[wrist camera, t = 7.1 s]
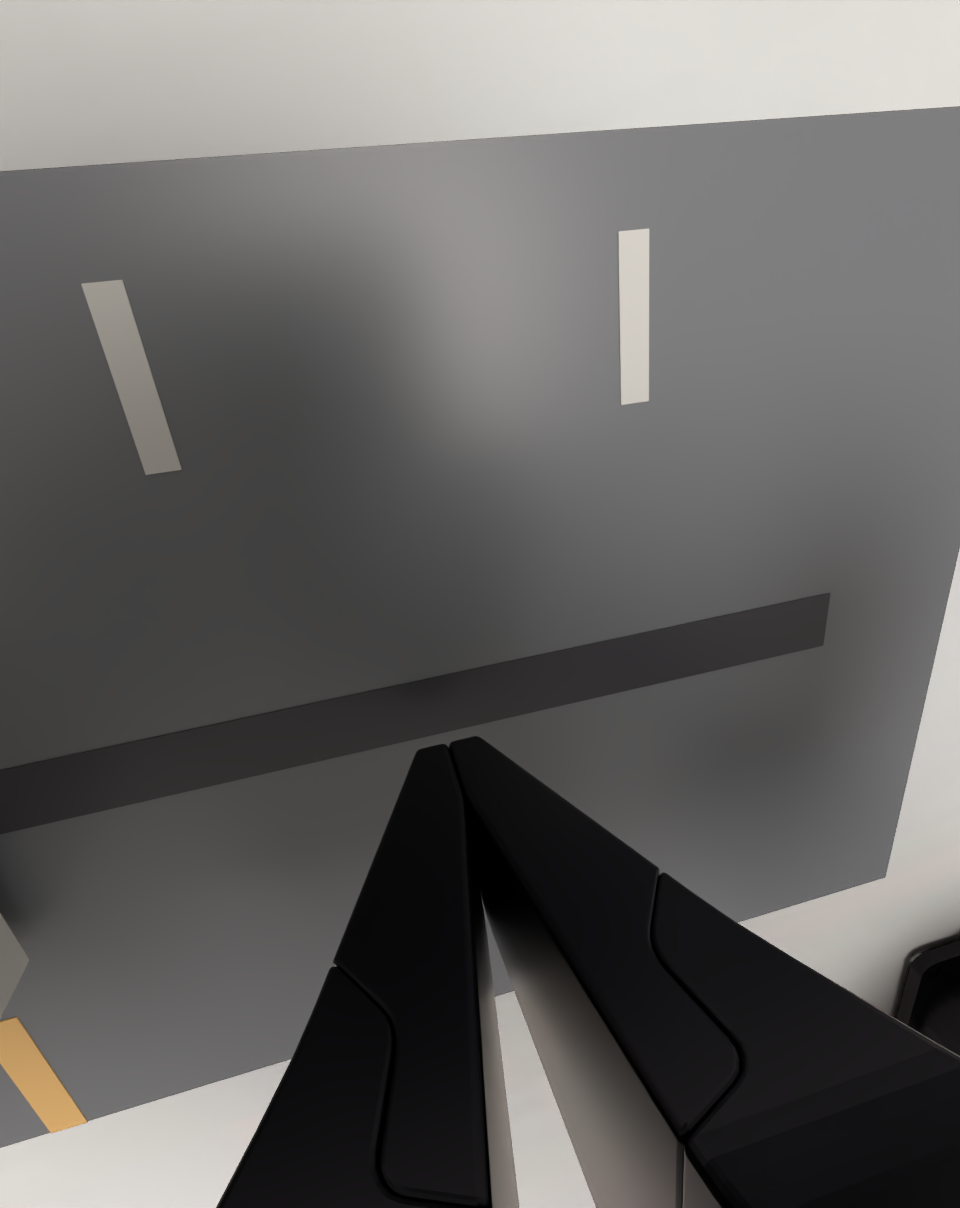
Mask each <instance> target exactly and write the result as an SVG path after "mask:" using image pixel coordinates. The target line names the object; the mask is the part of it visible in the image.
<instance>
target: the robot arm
mask: <svg viewBox="0 0 960 1208" xmlns="http://www.w3.org/2000/svg"><path fill="white" fill-rule="evenodd" d="M482 901H483V903H482ZM483 905H484V909H485V912H486V915H487V918H488V921H489V924H490V927H491V930H492V933H493V935H494V938H495V941H496V943H497V946H498V949H499V951H500V954H501V957H502V959H503V962H504V964H505V967H506V970H507V972H508V975H509V978H510V980H511V983H512V986H513V988H514V991H515V994H516V996H517V999H518V1002H519V1004H520V1007H521V1009H522V1012H523V1015H524V1017H525V1020H526V1023H527V1025H528V1028H529V1031H530V1033H531V1036H532V1039H533V1041H534V1044H535V1047H536V1049H537V1052H538V1055H539V1057H540V1060H541V1062H542V1065H543V1068H544V1070H545V1073H546V1076H547V1078H548V1081H549V1084H550V1086H551V1089H552V1092H553V1094H554V1097H555V1100H556V1102H557V1105H558V1107H559V1110H560V1113H561V1115H562V1118H563V1121H564V1123H565V1126H566V1129H567V1131H568V1134H569V1137H570V1139H571V1142H572V1145H573V1147H574V1150H575V1153H576V1155H577V1158H578V1160H579V1163H580V1166H581V1168H582V1171H583V1174H584V1176H585V1179H586V1182H587V1184H588V1187H589V1190H590V1192H591V1195H592V1198H593V1200H594V1203H595V1205H596V1208H960V940H959V941H956V942H953V943H950V944H947V945H944V946H941V947H938V948H935V949H932V950H929V951H926V952H924V953H922V954H920V955H919V956H918V957H916V959H915V960H914V961H913V962H912V964H911V967H910V970H909V974H908V978H907V981H906V985H905V989H904V992H903V996H902V1000H901V1003H900V1007H899V1011H898V1014H897V1018H896V1019H895V1018H894V1017H892V1016H890V1015H889V1014H887V1013H885V1012H884V1011H882V1010H880V1009H879V1008H877V1007H875V1006H874V1005H872V1004H870V1003H869V1002H867V1001H865V1000H863V999H862V998H860V997H858V996H857V995H855V994H853V993H852V992H850V991H848V990H847V989H845V988H843V987H842V986H840V985H838V984H836V983H835V982H833V981H831V980H830V979H828V978H826V977H825V976H823V975H821V974H820V973H818V972H816V971H815V970H813V969H811V968H809V967H808V966H806V965H804V964H803V963H801V962H799V961H798V960H796V959H794V958H793V957H791V956H789V955H788V954H786V953H785V952H783V951H781V950H780V949H778V948H777V947H775V946H773V945H772V944H770V943H769V942H767V941H765V940H764V939H762V938H761V937H759V936H757V935H756V934H754V933H752V932H751V931H749V930H748V929H746V928H744V927H743V926H741V925H740V924H738V923H736V922H735V921H734V920H732V919H731V918H729V917H728V916H726V915H725V914H723V913H722V912H721V911H719V910H718V909H716V908H715V907H713V906H712V905H710V904H709V903H708V902H706V901H705V900H703V899H702V898H700V897H699V896H697V895H696V894H695V893H693V892H692V891H690V890H689V889H688V888H686V887H685V886H683V885H682V884H681V883H679V882H678V881H677V880H675V879H674V878H673V877H671V876H670V875H668V874H667V873H665V872H663V873H661V871H660V869H659V868H658V867H657V866H656V865H654V864H653V863H652V862H650V861H649V860H647V859H646V858H645V857H643V856H642V855H641V854H639V853H638V852H637V851H635V850H634V849H632V848H631V847H630V846H628V845H627V844H626V843H624V842H623V841H621V840H620V839H619V838H617V837H616V836H615V835H613V834H612V833H611V832H609V831H608V830H606V829H605V828H604V827H602V826H601V825H600V824H598V823H597V822H596V821H594V820H593V819H591V818H590V817H589V816H587V815H586V814H585V813H583V812H582V811H580V810H579V809H578V808H576V807H575V806H574V805H572V804H571V803H570V802H568V801H567V800H565V799H564V798H563V797H561V796H560V795H559V794H557V793H556V792H554V791H553V790H552V789H550V788H549V787H548V786H546V785H545V784H544V783H542V782H541V781H539V780H538V779H537V778H535V777H534V776H533V775H531V774H530V773H529V772H527V771H526V770H524V769H523V768H522V767H520V766H519V765H518V764H516V763H515V762H513V761H512V760H511V759H509V758H508V757H507V756H505V755H504V754H503V753H501V752H500V751H498V750H497V749H496V748H494V747H493V746H492V745H490V744H489V743H488V742H486V741H485V740H483V739H482V738H481V737H478V736H473V737H469V738H464V739H460V740H456V741H452V742H451V743H450V744H449V748H448V746H447V745H446V744H439V745H435V746H430V747H426V748H422V749H419V750H418V751H417V752H416V754H415V756H414V758H413V761H412V763H411V766H410V768H409V771H408V773H407V776H406V778H405V781H404V783H403V786H402V788H401V791H400V794H399V796H398V799H397V801H396V804H395V806H394V809H393V811H392V814H391V816H390V819H389V821H388V824H387V826H386V829H385V831H384V834H383V836H382V839H381V841H380V844H379V846H378V849H377V851H376V854H375V856H374V859H373V861H372V864H371V866H370V869H369V871H368V874H367V876H366V879H365V882H364V884H363V887H362V889H361V892H360V894H359V897H358V899H357V902H356V904H355V907H354V909H353V912H352V914H351V917H350V919H349V922H348V924H347V927H346V929H345V932H344V934H343V937H342V939H341V942H340V944H339V947H338V949H337V952H336V954H335V957H334V959H333V967H331V968H330V969H329V971H328V974H327V976H326V979H325V981H324V984H323V986H322V989H321V991H320V994H319V996H318V999H317V1001H316V1004H315V1006H314V1009H313V1011H312V1013H311V1016H310V1018H309V1020H308V1022H307V1025H306V1027H305V1029H304V1032H303V1034H302V1036H301V1039H300V1041H299V1043H298V1046H297V1048H296V1050H295V1052H294V1055H293V1057H292V1059H291V1062H290V1064H289V1066H288V1068H287V1070H286V1072H285V1074H284V1076H283V1078H282V1080H281V1082H280V1084H279V1086H278V1088H277V1090H276V1092H275V1094H274V1096H273V1098H272V1100H271V1102H270V1104H269V1106H268V1108H267V1110H266V1112H265V1114H264V1116H263V1118H262V1120H261V1122H260V1124H259V1126H258V1128H257V1130H256V1132H255V1134H254V1136H253V1138H252V1140H251V1142H250V1144H249V1146H248V1147H247V1149H246V1151H245V1153H244V1155H243V1157H242V1159H241V1161H240V1163H239V1165H238V1167H237V1169H236V1171H235V1172H234V1174H233V1176H232V1178H231V1180H230V1182H229V1184H228V1186H227V1188H226V1190H225V1192H224V1194H223V1195H222V1197H221V1199H220V1201H219V1203H218V1205H217V1207H216V1208H519V1200H518V1192H517V1183H516V1175H515V1166H514V1158H513V1149H512V1141H511V1132H510V1124H509V1115H508V1107H507V1098H506V1090H505V1081H504V1073H503V1064H502V1056H501V1047H500V1038H499V1030H498V1021H497V1013H496V1004H495V996H494V987H493V979H492V970H491V962H490V953H489V945H488V936H487V929H486V922H485V915H484V909H483Z"/></svg>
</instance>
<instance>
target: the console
mask: <svg viewBox="0 0 960 1208" xmlns="http://www.w3.org/2000/svg"><path fill="white" fill-rule="evenodd" d="M959 548H960V106H957V107H943V108H928V109H913V110H898V111H884V112H869V113H854V114H839V115H825V116H810V117H795V118H781V119H766V120H751V121H736V122H722V123H707V124H692V125H677V126H663V127H648V128H633V129H618V130H604V131H589V132H574V133H559V134H545V135H530V136H515V137H501V138H486V139H471V140H456V141H442V142H427V143H412V144H397V145H383V146H368V147H353V148H338V149H324V150H309V151H294V152H280V153H265V154H250V155H235V156H221V157H206V158H191V159H176V160H162V161H147V162H132V163H117V164H103V165H88V166H73V167H59V168H44V169H29V170H14V171H0V913H1V915H2V917H3V918H4V920H5V921H6V923H7V925H8V926H9V928H10V929H11V931H12V933H13V934H14V936H15V937H16V939H17V941H18V942H19V944H20V945H21V947H22V949H23V950H24V952H25V953H26V955H27V957H28V958H29V962H28V964H27V966H26V968H25V970H24V972H23V974H22V976H21V978H20V980H19V982H18V984H17V986H16V988H15V990H14V992H13V994H12V996H11V998H10V1000H9V1002H8V1004H7V1006H6V1008H5V1010H4V1012H3V1014H2V1016H1V1018H0V1148H1V1147H5V1146H8V1145H11V1144H14V1143H18V1142H21V1141H24V1140H27V1139H31V1138H34V1137H37V1136H41V1135H44V1134H47V1133H54V1132H57V1131H61V1130H64V1129H67V1128H71V1127H74V1126H77V1125H80V1124H84V1123H87V1122H88V1121H90V1120H93V1119H96V1118H99V1117H103V1116H106V1115H109V1114H113V1113H116V1112H119V1111H122V1110H126V1109H129V1108H132V1107H135V1106H139V1105H142V1104H145V1103H149V1102H152V1101H155V1100H158V1099H162V1098H165V1097H168V1096H171V1095H175V1094H178V1093H181V1092H185V1091H188V1090H191V1089H194V1088H198V1087H201V1086H204V1085H207V1084H211V1083H214V1082H217V1081H221V1080H224V1079H227V1078H230V1077H234V1076H237V1075H240V1074H243V1073H247V1072H250V1071H253V1070H256V1069H260V1068H263V1067H266V1066H270V1065H273V1064H276V1063H279V1062H283V1061H286V1060H289V1059H292V1057H293V1055H294V1052H295V1050H296V1048H297V1046H298V1043H299V1041H300V1039H301V1036H302V1034H303V1032H304V1029H305V1027H306V1025H307V1022H308V1020H309V1018H310V1016H311V1013H312V1011H313V1009H314V1006H315V1004H316V1001H317V999H318V996H319V994H320V991H321V989H322V986H323V984H324V981H325V979H326V976H327V974H328V971H329V969H330V968H331V967H333V959H334V957H335V954H336V952H337V949H338V947H339V944H340V942H341V939H342V937H343V934H344V932H345V929H346V927H347V924H348V922H349V919H350V917H351V914H352V912H353V909H354V907H355V904H356V902H357V899H358V897H359V894H360V892H361V889H362V887H363V884H364V882H365V879H366V876H367V874H368V871H369V869H370V866H371V864H372V861H373V859H374V856H375V854H376V851H377V849H378V846H379V844H380V841H381V839H382V836H383V834H384V831H385V829H386V826H387V824H388V821H389V819H390V816H391V814H392V811H393V809H394V806H395V804H396V801H397V799H398V796H399V794H400V791H401V788H402V786H403V783H404V781H405V778H406V776H407V773H408V771H409V768H410V766H411V763H412V761H413V758H414V756H415V754H416V752H417V751H418V750H419V749H422V748H426V747H430V746H435V745H439V744H446V745H447V746H448V748H449V744H450V743H451V742H452V741H456V740H460V739H464V738H469V737H473V736H478V737H481V738H482V739H483V740H485V741H486V742H488V743H489V744H490V745H492V746H493V747H494V748H496V749H497V750H498V751H500V752H501V753H503V754H504V755H505V756H507V757H508V758H509V759H511V760H512V761H513V762H515V763H516V764H518V765H519V766H520V767H522V768H523V769H524V770H526V771H527V772H529V773H530V774H531V775H533V776H534V777H535V778H537V779H538V780H539V781H541V782H542V783H544V784H545V785H546V786H548V787H549V788H550V789H552V790H553V791H554V792H556V793H557V794H559V795H560V796H561V797H563V798H564V799H565V800H567V801H568V802H570V803H571V804H572V805H574V806H575V807H576V808H578V809H579V810H580V811H582V812H583V813H585V814H586V815H587V816H589V817H590V818H591V819H593V820H594V821H596V822H597V823H598V824H600V825H601V826H602V827H604V828H605V829H606V830H608V831H609V832H611V833H612V834H613V835H615V836H616V837H617V838H619V839H620V840H621V841H623V842H624V843H626V844H627V845H628V846H630V847H631V848H632V849H634V850H635V851H637V852H638V853H639V854H641V855H642V856H643V857H645V858H646V859H647V860H649V861H650V862H652V863H653V864H654V865H656V866H657V867H658V868H659V869H660V871H661V873H663V872H665V873H667V874H668V875H670V876H671V877H673V878H674V879H675V880H677V881H678V882H679V883H681V884H682V885H683V886H685V887H686V888H688V889H689V890H690V891H692V892H693V893H695V894H696V895H697V896H699V897H700V898H702V899H703V900H705V901H706V902H708V903H709V904H710V905H712V906H713V907H715V908H716V909H718V910H719V911H721V912H722V913H723V914H725V915H726V916H728V917H729V918H731V919H732V920H734V921H735V922H736V923H737V922H741V921H744V920H747V919H750V918H754V917H757V916H760V915H764V914H767V913H770V912H773V911H777V910H780V909H783V908H786V907H790V906H793V905H796V904H800V903H803V902H806V901H809V900H813V899H816V898H819V897H822V896H826V895H829V894H832V893H836V892H839V891H842V890H845V889H849V888H852V887H855V886H858V885H862V884H865V883H868V882H872V881H875V880H878V879H881V878H885V876H886V872H887V867H888V863H889V859H890V854H891V850H892V845H893V841H894V836H895V832H896V828H897V823H898V819H899V814H900V810H901V805H902V801H903V796H904V792H905V788H906V783H907V779H908V774H909V770H910V765H911V761H912V756H913V752H914V748H915V743H916V739H917V734H918V730H919V725H920V721H921V717H922V712H923V708H924V703H925V699H926V694H927V690H928V685H929V681H930V677H931V672H932V668H933V663H934V659H935V654H936V650H937V645H938V641H939V637H940V632H941V628H942V623H943V619H944V614H945V610H946V606H947V601H948V597H949V592H950V588H951V583H952V579H953V574H954V570H955V566H956V561H957V557H958V552H959ZM482 903H483V901H482ZM483 909H484V905H483ZM484 915H485V922H486V929H487V936H488V945H489V953H490V962H491V970H492V979H493V987H494V996H499V995H502V994H505V993H508V992H512V991H514V988H513V986H512V983H511V980H510V978H509V975H508V972H507V970H506V967H505V964H504V962H503V959H502V957H501V954H500V951H499V949H498V946H497V943H496V941H495V938H494V935H493V933H492V930H491V927H490V924H489V921H488V918H487V915H486V912H485V909H484Z"/></svg>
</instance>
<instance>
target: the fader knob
mask: <svg viewBox="0 0 960 1208" xmlns="http://www.w3.org/2000/svg"><path fill="white" fill-rule="evenodd" d="M28 962H29V958H28V957H27V955H26V953H25V952H24V950H23V949H22V947H21V945H20V944H19V942H18V941H17V939H16V937H15V936H14V934H13V933H12V931H11V929H10V928H9V926H8V925H7V923H6V921H5V920H4V918H3V917H2V915H1V913H0V1018H1V1016H2V1014H3V1012H4V1010H5V1008H6V1006H7V1004H8V1002H9V1000H10V998H11V996H12V994H13V992H14V990H15V988H16V986H17V984H18V982H19V980H20V978H21V976H22V974H23V972H24V970H25V968H26V966H27V964H28Z"/></svg>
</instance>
